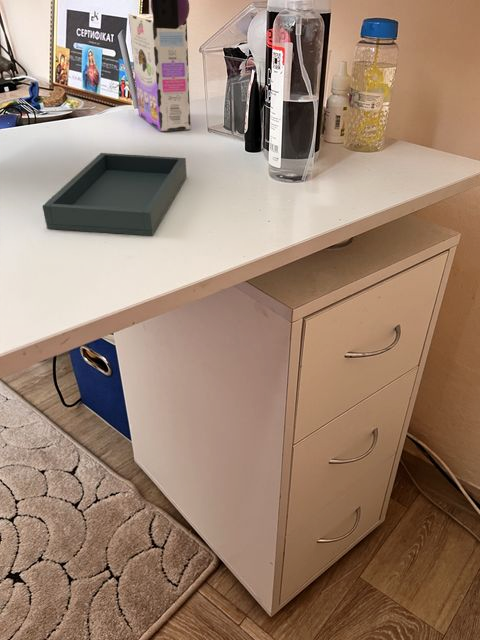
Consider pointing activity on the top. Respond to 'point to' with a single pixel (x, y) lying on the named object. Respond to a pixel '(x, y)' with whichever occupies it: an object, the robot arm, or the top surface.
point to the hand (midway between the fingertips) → (170, 24)
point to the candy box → (161, 73)
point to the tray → (117, 195)
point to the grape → (181, 10)
